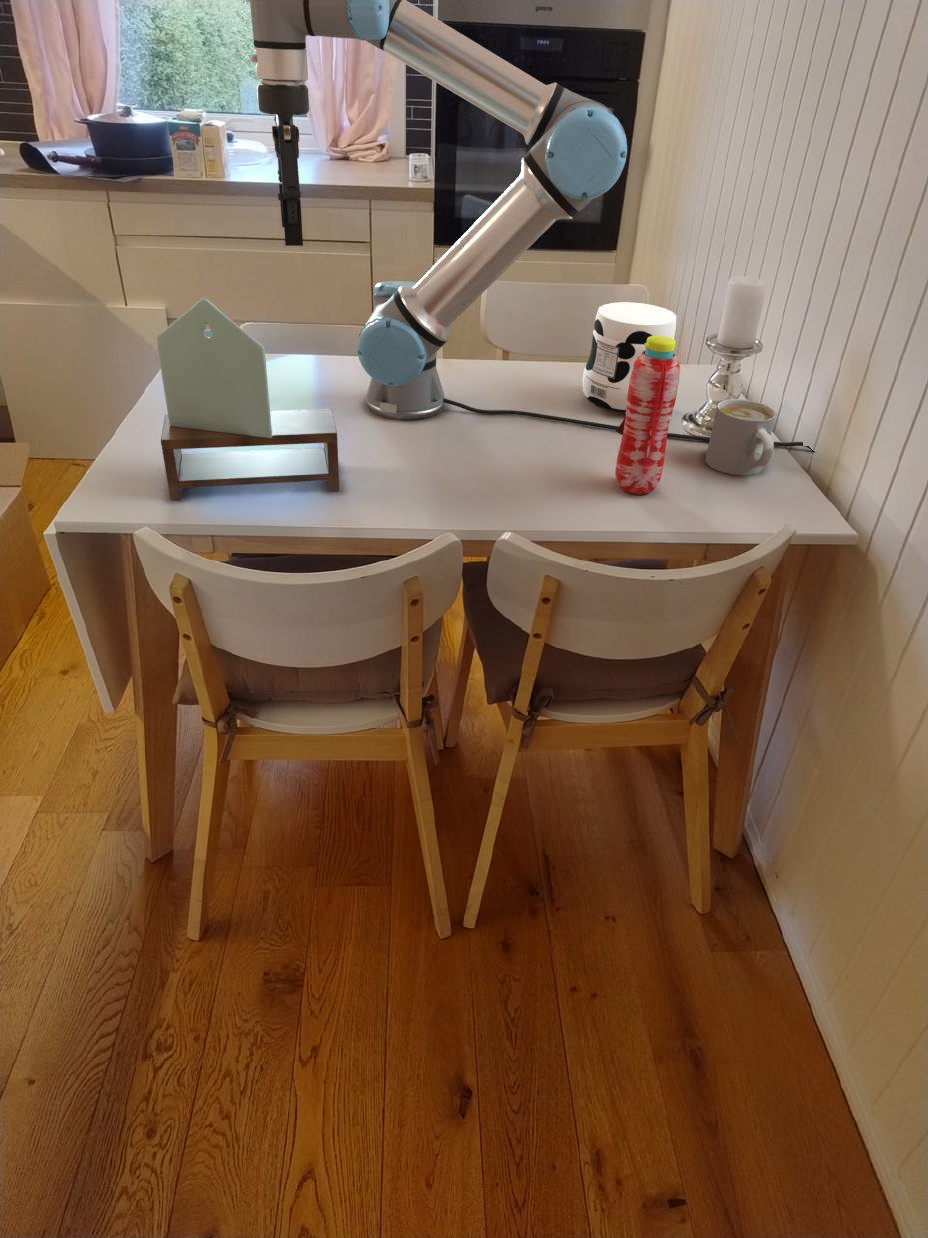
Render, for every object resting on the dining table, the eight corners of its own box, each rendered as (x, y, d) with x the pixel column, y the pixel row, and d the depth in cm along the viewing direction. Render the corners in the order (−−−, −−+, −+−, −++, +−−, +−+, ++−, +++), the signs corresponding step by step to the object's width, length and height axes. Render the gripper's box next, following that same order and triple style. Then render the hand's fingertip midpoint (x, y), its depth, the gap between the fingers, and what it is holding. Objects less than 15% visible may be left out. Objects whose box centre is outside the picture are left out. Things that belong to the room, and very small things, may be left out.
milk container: (665, 393, 183) (681, 305, 172) (666, 424, 169) (684, 330, 158) (582, 384, 185) (593, 296, 174) (577, 414, 171) (588, 321, 160)
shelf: (334, 464, 148) (331, 408, 142) (339, 491, 140) (337, 432, 134) (174, 472, 143) (165, 414, 137) (170, 500, 135) (160, 439, 129)
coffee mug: (697, 451, 159) (708, 398, 153) (749, 451, 160) (762, 398, 154) (724, 484, 148) (737, 429, 142) (779, 483, 149) (795, 428, 143)
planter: (289, 418, 138) (279, 289, 126) (271, 438, 131) (259, 303, 120) (191, 407, 139) (172, 278, 128) (169, 426, 133) (147, 292, 122)
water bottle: (605, 467, 152) (627, 321, 137) (650, 469, 152) (677, 323, 137) (615, 499, 142) (639, 345, 127) (664, 501, 142) (694, 348, 128)
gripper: (255, 75, 139) (266, 219, 151) (257, 88, 119) (270, 253, 131) (303, 76, 140) (310, 219, 152) (313, 90, 120) (321, 253, 132)
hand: (292, 235), depth 142 cm, fingers open, 13 cm apart
